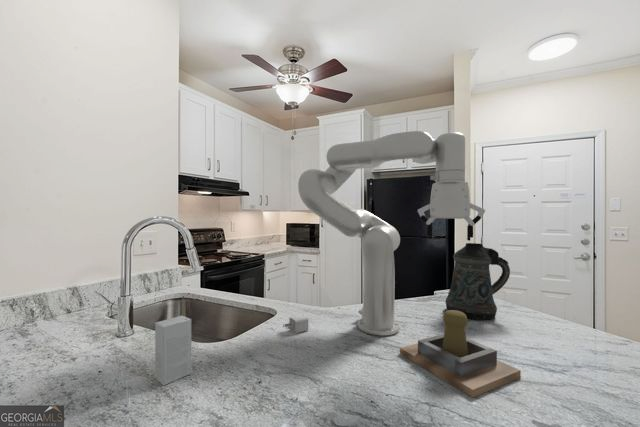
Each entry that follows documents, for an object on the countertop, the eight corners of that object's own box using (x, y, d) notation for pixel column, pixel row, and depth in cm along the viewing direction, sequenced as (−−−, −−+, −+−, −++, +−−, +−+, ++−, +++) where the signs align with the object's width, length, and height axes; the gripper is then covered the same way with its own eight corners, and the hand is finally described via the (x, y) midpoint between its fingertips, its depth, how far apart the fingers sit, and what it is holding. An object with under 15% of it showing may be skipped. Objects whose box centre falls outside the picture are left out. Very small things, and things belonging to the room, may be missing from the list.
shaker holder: (399, 353, 75) (400, 336, 75) (443, 341, 82) (444, 325, 82) (472, 397, 57) (473, 374, 57) (520, 377, 64) (520, 356, 65)
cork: (472, 366, 66) (472, 316, 66) (443, 363, 67) (444, 314, 67) (465, 353, 72) (465, 308, 72) (438, 351, 73) (439, 306, 73)
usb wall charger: (308, 331, 89) (308, 318, 89) (287, 336, 85) (287, 322, 85) (301, 327, 92) (302, 314, 92) (281, 331, 89) (281, 318, 89)
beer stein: (436, 307, 113) (436, 241, 113) (481, 304, 117) (481, 241, 117) (465, 322, 97) (465, 246, 97) (516, 319, 100) (516, 245, 100)
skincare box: (182, 367, 67) (182, 314, 67) (191, 374, 65) (192, 319, 65) (153, 378, 63) (154, 322, 63) (162, 386, 60) (163, 327, 60)
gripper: (415, 178, 84) (415, 238, 84) (485, 175, 76) (485, 242, 76) (420, 181, 91) (419, 237, 91) (484, 178, 83) (484, 239, 83)
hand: (449, 239), depth 83 cm, fingers open, 9 cm apart
